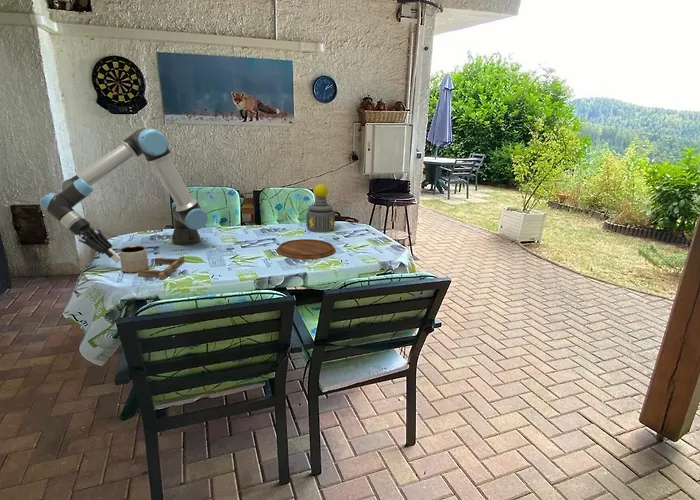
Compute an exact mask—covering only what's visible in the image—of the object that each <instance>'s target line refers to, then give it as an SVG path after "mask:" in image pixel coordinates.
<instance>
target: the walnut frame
mask: <svg viewBox="0 0 700 500" xmlns="http://www.w3.org/2000/svg"><path fill="white" fill-rule="evenodd" d="M184 262H185V257H184V256H180V257H179V258H166V257H165V258H164V257H161V258H160V257H156V258H154V265H167V267H165V269H162V270H157V269H156V270H154V269H151V270H150V269H146V270H138V271H137V272H136V273H137V277H138V278H139V277H141V278H142V277H143V278H145V277H148V278H149V277H150V278H158V280H161V281H162V280H164V279H165V278H167V277H168V276H169V275H170V274H171V273H173V272H174V271H175V270H176V269H177V268H179V267H180V266H181V265H183V263H184Z"/></svg>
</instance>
